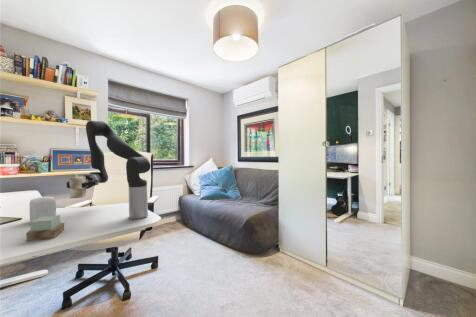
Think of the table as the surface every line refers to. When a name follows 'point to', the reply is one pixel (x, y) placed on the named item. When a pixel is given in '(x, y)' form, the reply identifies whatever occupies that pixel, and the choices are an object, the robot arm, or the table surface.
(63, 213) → the table surface
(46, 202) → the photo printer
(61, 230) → the bottom block
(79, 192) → the ash block
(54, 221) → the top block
